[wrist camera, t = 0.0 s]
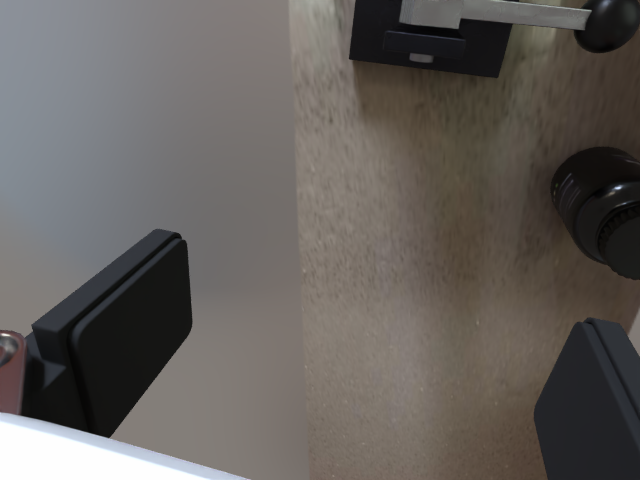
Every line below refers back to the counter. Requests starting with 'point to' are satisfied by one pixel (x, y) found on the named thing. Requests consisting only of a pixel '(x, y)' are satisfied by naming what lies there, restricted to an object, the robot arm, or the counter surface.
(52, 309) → the robot arm
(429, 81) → the counter surface
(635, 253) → the supplement bottle
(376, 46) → the black lever stand
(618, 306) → the counter surface
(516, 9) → the tap lever
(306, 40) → the counter surface
